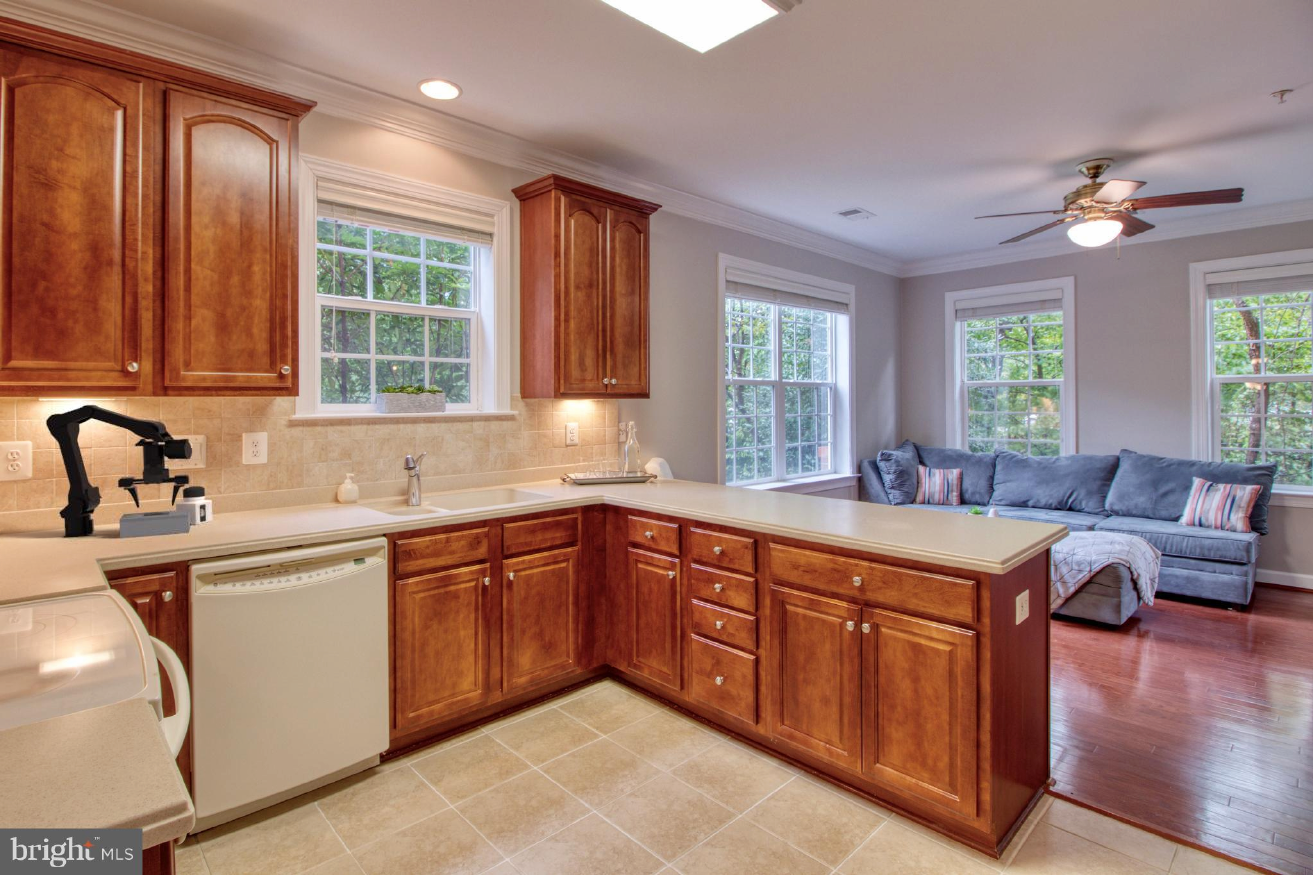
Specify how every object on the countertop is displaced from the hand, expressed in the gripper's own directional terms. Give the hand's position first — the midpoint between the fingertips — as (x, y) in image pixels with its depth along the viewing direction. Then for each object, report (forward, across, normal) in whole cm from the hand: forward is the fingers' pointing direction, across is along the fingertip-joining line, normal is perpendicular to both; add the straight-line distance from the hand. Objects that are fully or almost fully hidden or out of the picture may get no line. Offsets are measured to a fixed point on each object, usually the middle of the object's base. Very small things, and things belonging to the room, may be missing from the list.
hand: (155, 506), depth 227 cm
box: (+8, 0, 0) cm, 8 cm away
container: (+9, +10, +14) cm, 19 cm away
